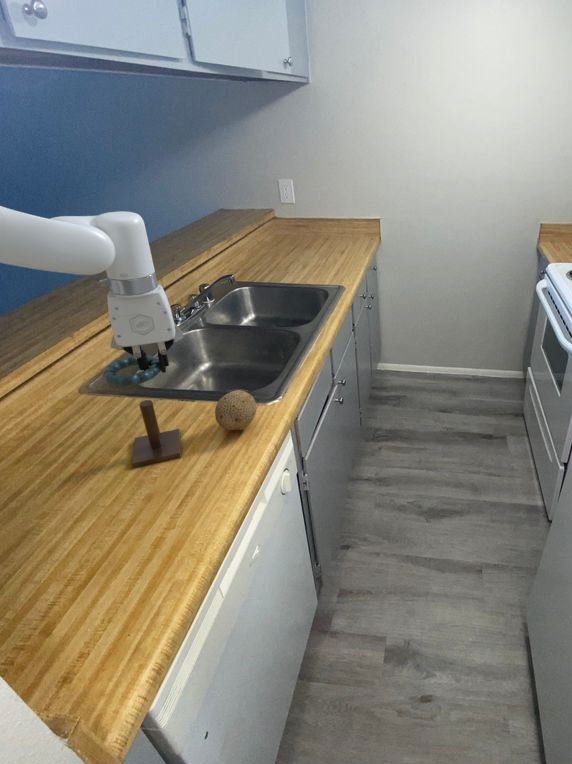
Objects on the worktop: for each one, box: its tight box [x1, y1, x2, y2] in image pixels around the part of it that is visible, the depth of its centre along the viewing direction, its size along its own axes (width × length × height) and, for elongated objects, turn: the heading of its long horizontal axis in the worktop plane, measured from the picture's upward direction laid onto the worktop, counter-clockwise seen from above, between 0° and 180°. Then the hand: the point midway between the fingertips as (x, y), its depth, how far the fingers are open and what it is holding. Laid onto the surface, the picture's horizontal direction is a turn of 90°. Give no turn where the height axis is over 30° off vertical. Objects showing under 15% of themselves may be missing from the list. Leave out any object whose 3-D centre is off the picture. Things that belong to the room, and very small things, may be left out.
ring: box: [102, 354, 161, 387], centre depth 92 cm, size 10×10×2 cm
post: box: [131, 399, 182, 468], centre depth 100 cm, size 9×9×12 cm
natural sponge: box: [214, 389, 258, 431], centre depth 108 cm, size 9×9×10 cm
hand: (155, 370), depth 94 cm, fingers closed on ring, 2 cm apart
